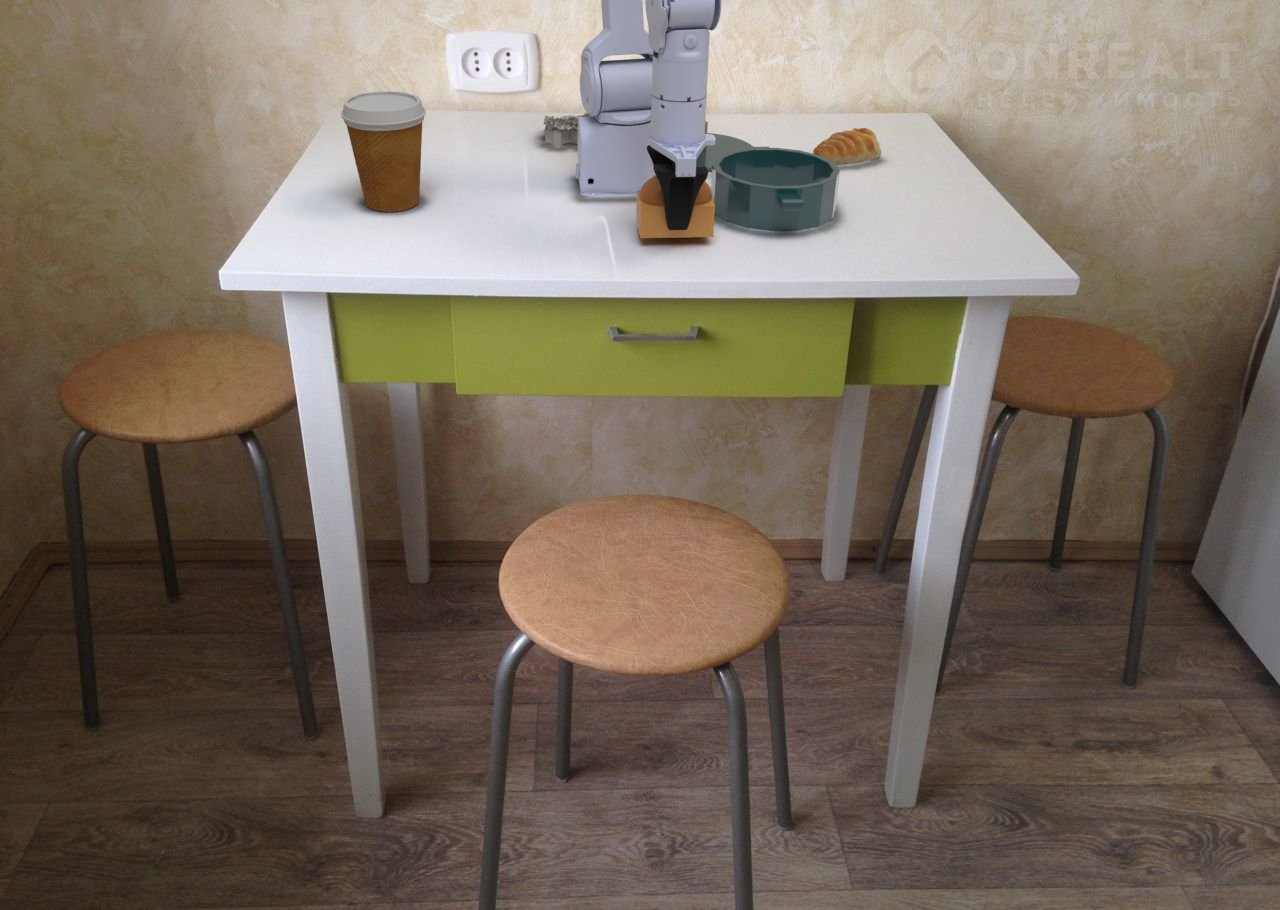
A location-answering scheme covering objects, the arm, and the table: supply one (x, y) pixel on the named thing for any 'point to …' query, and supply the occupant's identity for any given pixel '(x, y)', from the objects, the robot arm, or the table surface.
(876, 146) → the pastry
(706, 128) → the lid
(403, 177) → the disposable coffee cup
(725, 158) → the pot
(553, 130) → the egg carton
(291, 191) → the table surface
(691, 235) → the bread
